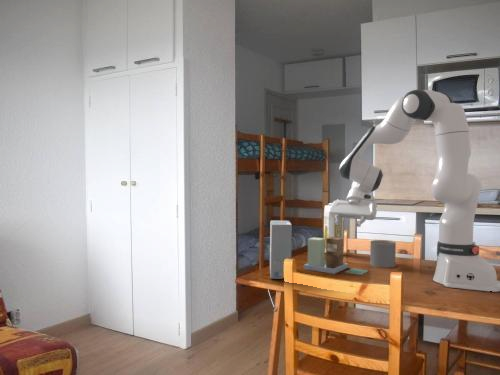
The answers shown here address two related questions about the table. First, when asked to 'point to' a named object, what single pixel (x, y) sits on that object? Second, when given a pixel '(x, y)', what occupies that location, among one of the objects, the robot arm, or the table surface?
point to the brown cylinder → (334, 252)
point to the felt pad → (356, 271)
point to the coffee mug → (382, 253)
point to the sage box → (316, 252)
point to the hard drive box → (279, 246)
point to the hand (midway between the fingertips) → (347, 224)
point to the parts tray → (326, 270)
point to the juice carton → (332, 226)
